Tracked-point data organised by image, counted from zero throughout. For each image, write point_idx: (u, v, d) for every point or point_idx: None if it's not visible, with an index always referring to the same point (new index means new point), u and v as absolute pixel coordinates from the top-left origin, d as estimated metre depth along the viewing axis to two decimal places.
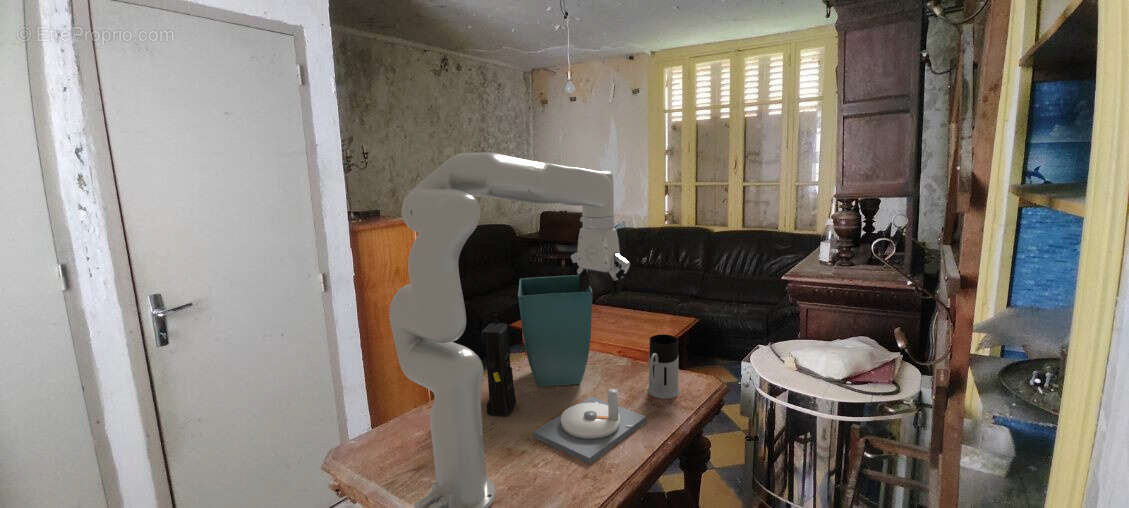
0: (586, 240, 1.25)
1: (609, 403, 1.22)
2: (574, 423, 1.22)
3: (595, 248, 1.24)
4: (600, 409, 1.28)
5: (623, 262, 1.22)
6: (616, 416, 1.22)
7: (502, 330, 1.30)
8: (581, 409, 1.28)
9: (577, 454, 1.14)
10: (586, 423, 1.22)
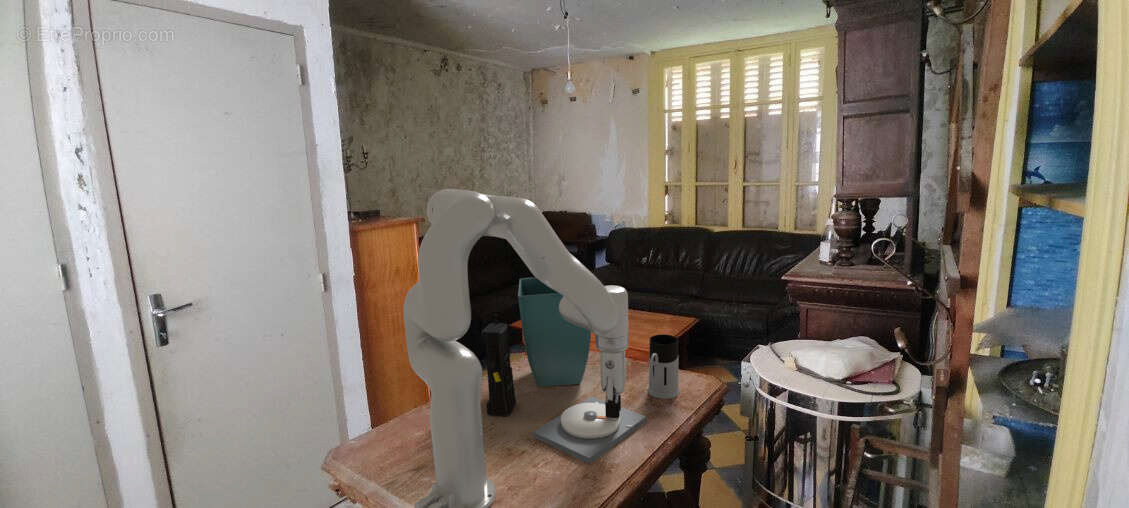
0: (623, 359, 1.18)
1: None
2: (574, 423, 1.22)
3: None
4: (600, 409, 1.28)
5: None
6: None
7: (502, 330, 1.30)
8: (581, 409, 1.28)
9: (577, 454, 1.14)
10: (586, 423, 1.22)
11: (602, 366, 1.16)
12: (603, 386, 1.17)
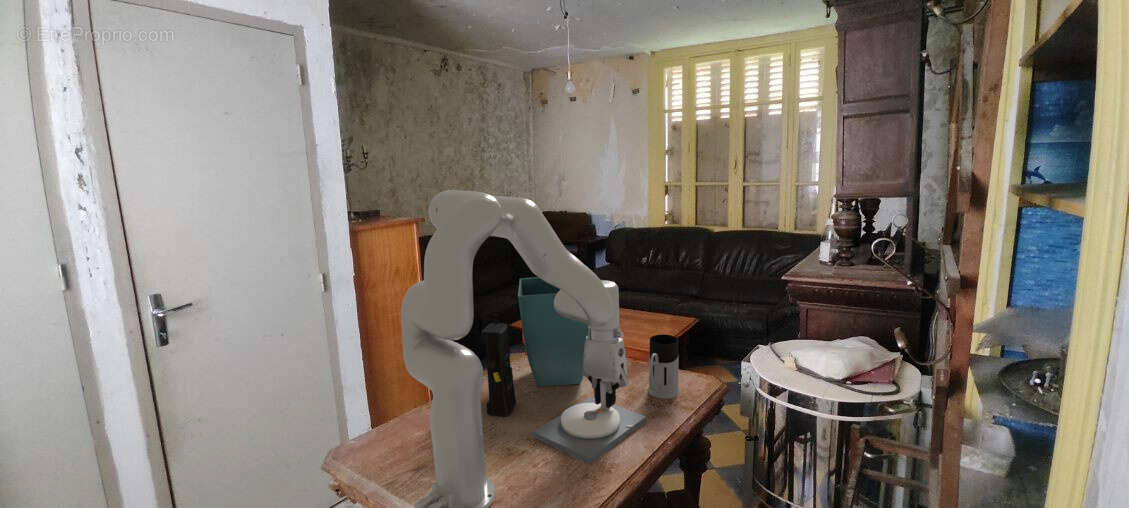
0: None
1: None
2: (591, 427, 1.20)
3: None
4: (584, 408, 1.29)
5: None
6: None
7: (502, 330, 1.30)
8: (572, 416, 1.25)
9: (577, 454, 1.14)
10: (598, 422, 1.22)
11: (616, 357, 1.21)
12: (618, 375, 1.22)
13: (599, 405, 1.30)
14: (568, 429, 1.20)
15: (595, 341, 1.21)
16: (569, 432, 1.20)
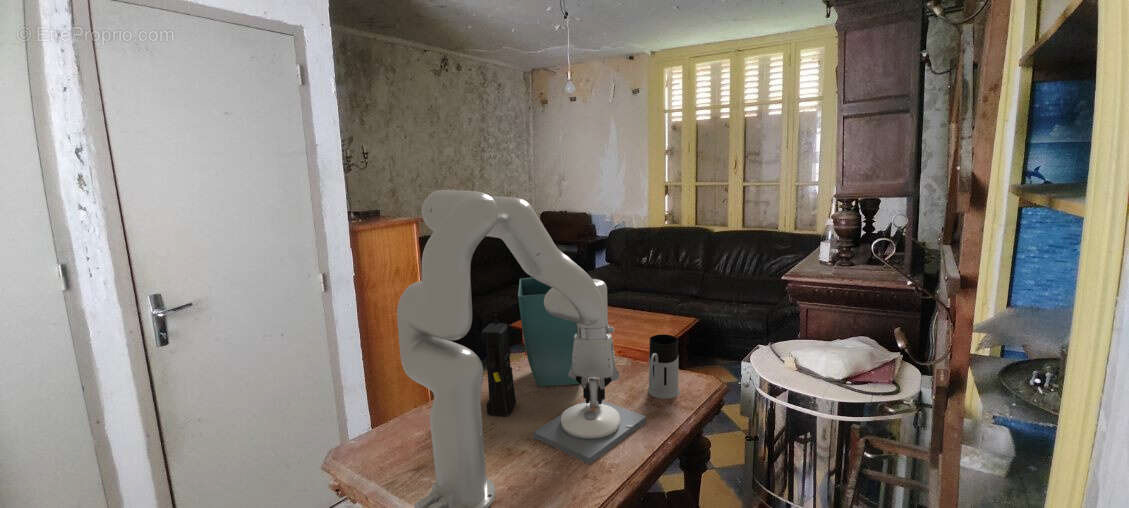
0: None
1: (597, 391, 1.28)
2: (602, 425, 1.21)
3: None
4: (576, 411, 1.27)
5: None
6: None
7: (502, 330, 1.30)
8: (573, 421, 1.23)
9: (577, 454, 1.14)
10: (602, 419, 1.23)
11: (610, 352, 1.24)
12: (612, 370, 1.25)
13: (586, 404, 1.30)
14: (582, 433, 1.18)
15: (590, 340, 1.22)
16: (584, 436, 1.18)
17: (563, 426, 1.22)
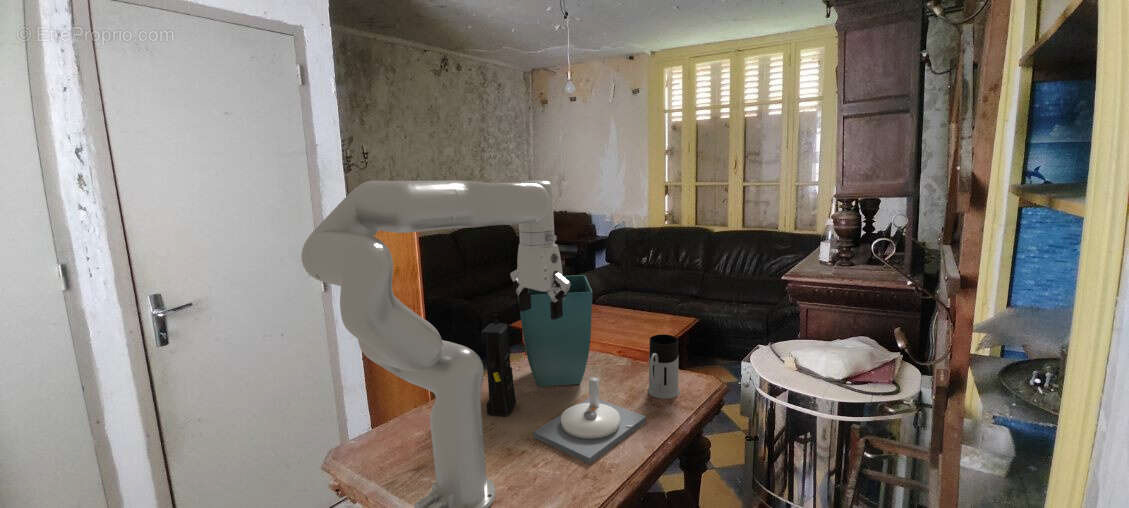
0: None
1: (597, 391, 1.28)
2: (602, 425, 1.21)
3: None
4: (576, 411, 1.27)
5: None
6: None
7: (502, 330, 1.30)
8: (573, 421, 1.23)
9: (577, 454, 1.14)
10: (602, 419, 1.23)
11: (548, 262, 1.10)
12: (551, 284, 1.10)
13: (586, 404, 1.30)
14: (582, 433, 1.18)
15: (525, 245, 1.10)
16: (584, 436, 1.18)
17: (563, 426, 1.22)
